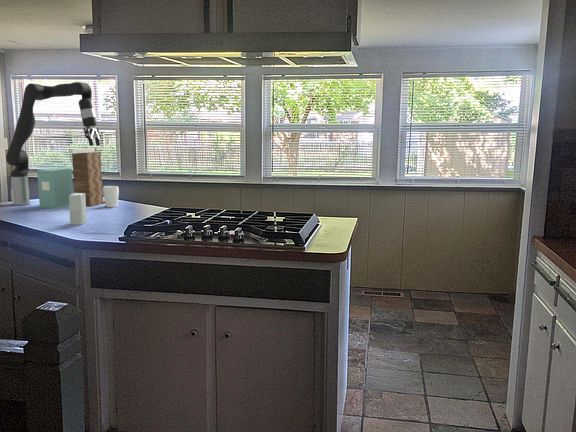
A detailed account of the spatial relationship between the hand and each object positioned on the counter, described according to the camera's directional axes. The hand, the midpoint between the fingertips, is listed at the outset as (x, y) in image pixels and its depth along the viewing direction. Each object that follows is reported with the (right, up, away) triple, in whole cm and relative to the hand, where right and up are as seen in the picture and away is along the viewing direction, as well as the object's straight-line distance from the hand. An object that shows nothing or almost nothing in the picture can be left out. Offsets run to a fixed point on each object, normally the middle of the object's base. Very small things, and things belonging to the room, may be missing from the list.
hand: (95, 145), depth 300 cm
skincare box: (+8, -44, -42) cm, 62 cm away
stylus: (-12, -3, +12) cm, 17 cm away
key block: (-29, -34, +16) cm, 48 cm away
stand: (-11, -34, +21) cm, 41 cm away
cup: (+5, -35, +15) cm, 38 cm away
